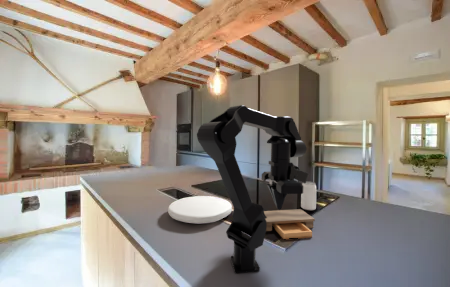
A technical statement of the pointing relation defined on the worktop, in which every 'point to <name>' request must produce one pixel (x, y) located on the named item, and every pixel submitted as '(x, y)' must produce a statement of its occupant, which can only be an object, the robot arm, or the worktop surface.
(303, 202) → the can
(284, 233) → the shallow tan tray
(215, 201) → the white thick disc
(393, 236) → the worktop surface
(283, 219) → the overhang
